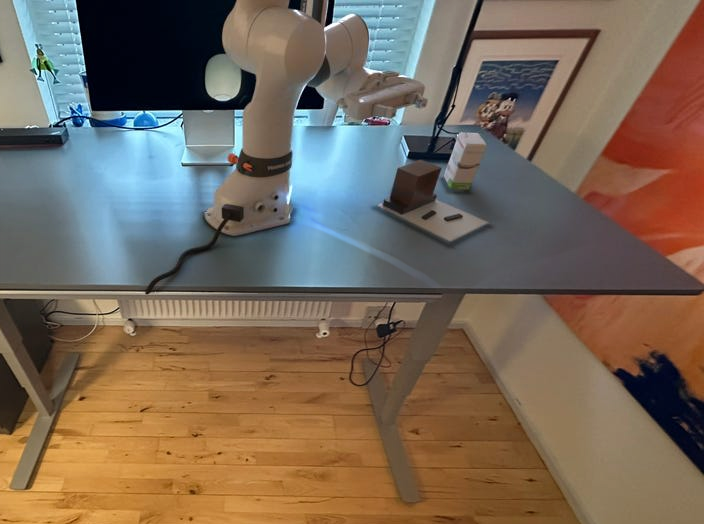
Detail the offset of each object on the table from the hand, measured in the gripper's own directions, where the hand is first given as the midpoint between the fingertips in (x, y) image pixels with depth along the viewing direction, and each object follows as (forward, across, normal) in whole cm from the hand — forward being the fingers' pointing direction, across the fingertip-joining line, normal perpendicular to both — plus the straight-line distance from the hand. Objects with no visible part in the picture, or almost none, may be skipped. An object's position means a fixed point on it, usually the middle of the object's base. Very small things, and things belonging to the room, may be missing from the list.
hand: (409, 109), depth 91 cm
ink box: (+6, +19, +21) cm, 28 cm away
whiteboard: (+14, 0, +20) cm, 24 cm away
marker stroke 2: (+18, +2, +19) cm, 26 cm away
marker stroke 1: (+14, -2, +19) cm, 24 cm away
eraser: (+7, 0, +19) cm, 20 cm away
